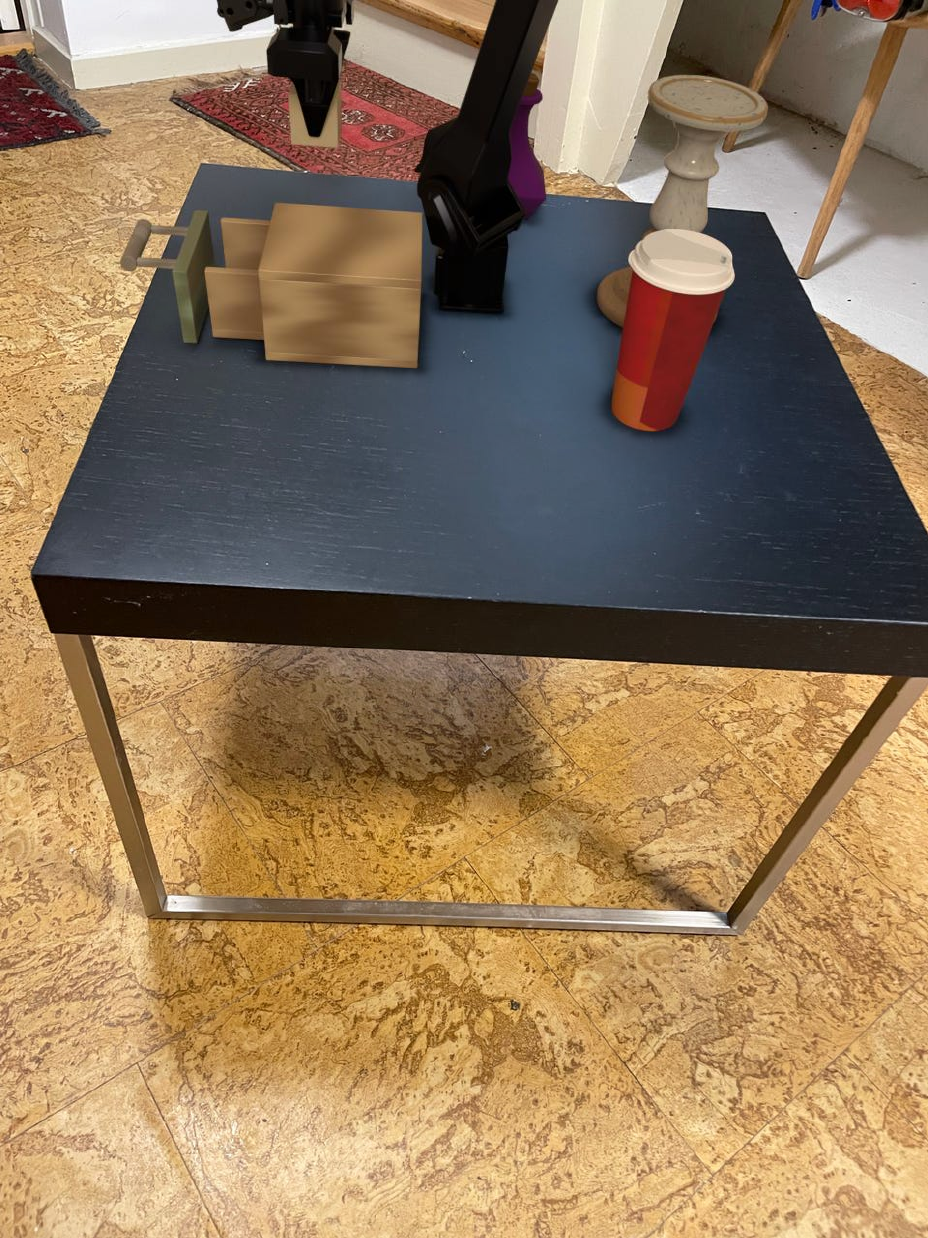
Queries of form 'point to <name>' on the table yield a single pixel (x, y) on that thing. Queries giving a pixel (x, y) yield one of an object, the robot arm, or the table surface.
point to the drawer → (210, 274)
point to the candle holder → (687, 160)
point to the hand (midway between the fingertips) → (317, 126)
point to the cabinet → (342, 285)
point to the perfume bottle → (526, 153)
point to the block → (330, 128)
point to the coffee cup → (667, 323)
